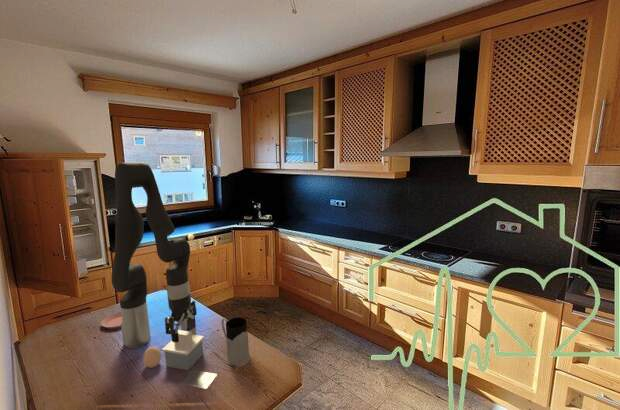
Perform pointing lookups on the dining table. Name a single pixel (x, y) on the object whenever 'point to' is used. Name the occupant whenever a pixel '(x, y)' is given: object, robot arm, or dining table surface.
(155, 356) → the egg
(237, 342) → the glass holder
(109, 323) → the plate
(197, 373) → the slate trivet
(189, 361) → the tin box
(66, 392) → the dining table surface
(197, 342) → the lid
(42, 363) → the dining table surface
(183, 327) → the beverage can
